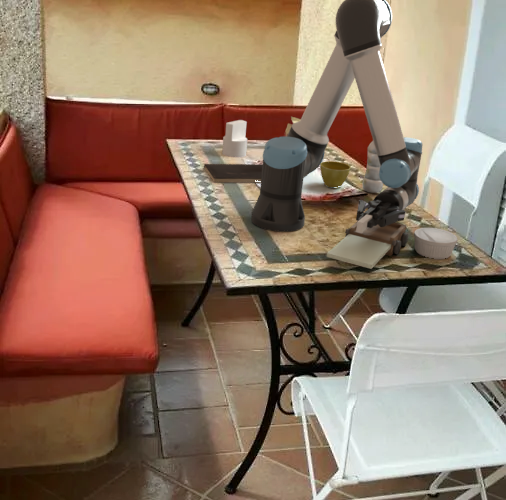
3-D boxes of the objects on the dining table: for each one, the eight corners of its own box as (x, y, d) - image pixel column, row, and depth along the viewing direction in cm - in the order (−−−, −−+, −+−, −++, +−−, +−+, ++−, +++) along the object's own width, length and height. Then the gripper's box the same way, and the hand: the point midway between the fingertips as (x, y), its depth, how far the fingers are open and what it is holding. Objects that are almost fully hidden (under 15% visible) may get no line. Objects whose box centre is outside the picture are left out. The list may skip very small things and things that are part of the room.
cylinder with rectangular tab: (231, 149, 269) (234, 118, 264) (250, 154, 264) (253, 123, 259) (217, 153, 262) (219, 121, 257) (236, 158, 257) (239, 126, 252)
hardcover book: (280, 184, 235) (281, 177, 234) (213, 184, 229) (213, 177, 228) (267, 170, 249) (268, 163, 248) (203, 169, 243) (204, 163, 242)
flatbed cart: (358, 230, 199) (360, 214, 197) (407, 243, 193) (410, 226, 192) (341, 245, 188) (344, 227, 186) (393, 258, 182) (397, 240, 180)
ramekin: (402, 250, 189) (406, 232, 186) (425, 241, 196) (429, 224, 194) (439, 265, 181) (442, 246, 179) (461, 255, 189) (465, 237, 187)
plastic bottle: (381, 196, 230) (391, 136, 223) (360, 193, 231) (369, 133, 224) (381, 190, 236) (391, 132, 228) (361, 187, 237) (370, 129, 230)
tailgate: (349, 233, 186) (327, 253, 173) (391, 244, 182) (372, 265, 168) (348, 238, 187) (326, 257, 173) (390, 249, 182) (371, 270, 169)
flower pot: (333, 192, 230) (336, 171, 227) (311, 183, 237) (314, 163, 234) (353, 188, 236) (356, 167, 233) (331, 179, 243) (334, 159, 240)
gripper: (411, 221, 188) (382, 248, 168) (365, 210, 193) (332, 235, 174) (416, 195, 185) (387, 219, 165) (369, 184, 190) (336, 206, 171)
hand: (359, 227), depth 170 cm, fingers closed
